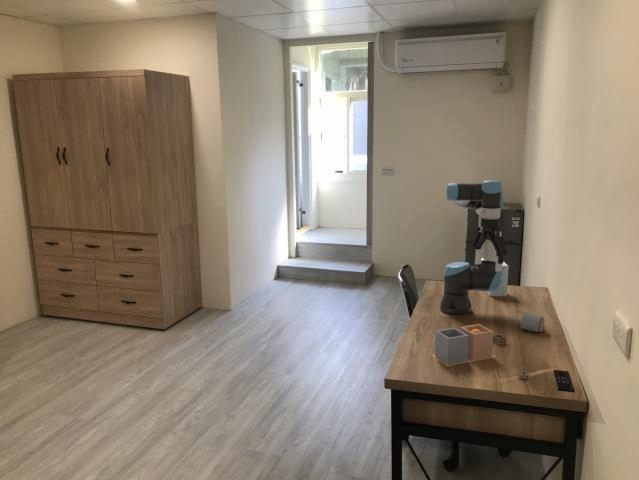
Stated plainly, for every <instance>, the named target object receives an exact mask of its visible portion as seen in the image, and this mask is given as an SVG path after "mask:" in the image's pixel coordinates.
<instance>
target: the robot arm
mask: <svg viewBox="0 0 639 480" xmlns="http://www.w3.org/2000/svg"><path fill="white" fill-rule="evenodd" d="M502 189H503V187H502V181H501V180H497V179H495V180H494V179H493V180H491V179H487V180H483V181H482V183H481V182H480V183H465V182H464V183H463V182H462V183H459V182H451V183H448V184H447V185H446V200H447V201H452V203H453V204H454V205H456V206H457V207H461V208H464V209H471V210H472V209H473V210H474V209H475V213H476V214H477V215H478V227H477V228H476V233H475V236H474V239H473V241H472V244H471V246H472V248H474V256H475V257H474V258H475V259H474V263H473V265H470V263H469V262H467V261H465V262H464V261H456V262H455V261H454V262H451V263H448V264H446V266H445V267H444V273H443V275H444V280H443V281H444V282H443V295H442V297H441V300H440V302H439V310H440V311H441V312H443V313H446V314H451V315H466V314H469V313H470V314H471V312H472V308H473V307H472V303H471V300H470V296H469V291H476V292H477V291H478V292H479V291H480V292H486V291H488V292H489V291H498V290H499V288H500V282H501V277H502V269H503V268H502V264H503V262H504V256H508V250H507V246H506V243H505V239H504V231H502V230H501V231H498V229H499V228H500V224H501V219H500V217H501V210H503V209H504V195H503V190H502Z"/></svg>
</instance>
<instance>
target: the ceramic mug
mask: <svg viewBox="0 0 639 480" xmlns="http://www.w3.org/2000/svg"><path fill="white" fill-rule="evenodd" d="M544 327H545V317H544V316H542V315H540V314H535V313H533V312H529V311H524V312H523V314H522V316H521V321H520V328H521V330H526V331H530V332H534V333H535V332H536V333H541V332H542V331H543V330H544Z"/></svg>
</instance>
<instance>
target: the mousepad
mask: <svg viewBox="0 0 639 480" xmlns="http://www.w3.org/2000/svg"><path fill="white" fill-rule="evenodd" d="M521 374H522V375H519V376H518V379H520V378H522V379H524V380H526V378H529V377H531V379H532V380H534V379H535V378H534V377H535V376H534V375H530V374H526V373H525V372H522V373H521ZM525 375H526V376H529V377H526V376H525ZM533 378H534V379H533ZM522 379H521V380H522Z"/></svg>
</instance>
